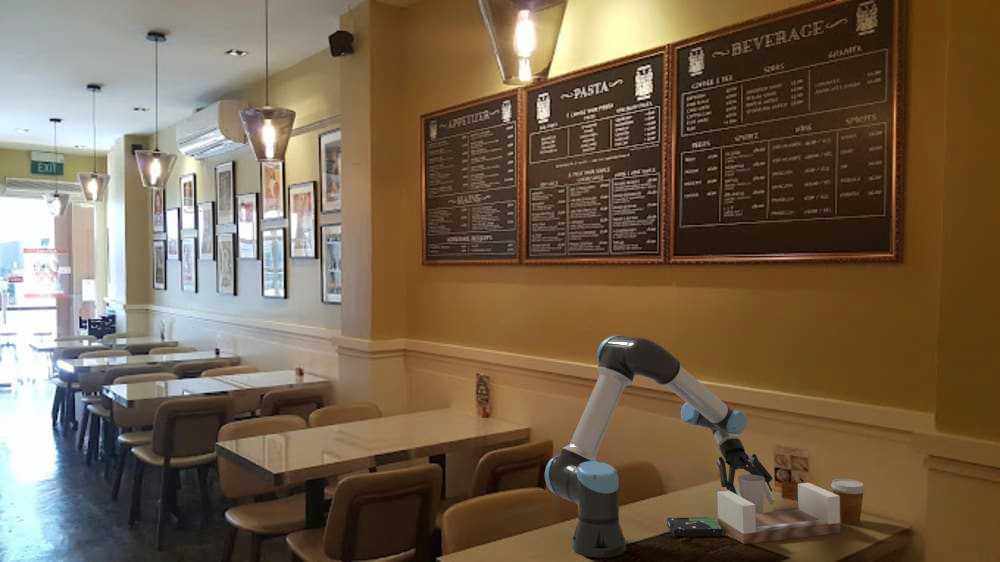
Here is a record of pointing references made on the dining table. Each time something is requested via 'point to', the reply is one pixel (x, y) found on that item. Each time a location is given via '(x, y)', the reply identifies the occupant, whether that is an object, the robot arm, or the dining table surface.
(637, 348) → the robot arm
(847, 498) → the disposable coffee cup
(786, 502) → the dining table surface
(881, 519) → the dining table surface
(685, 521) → the disk drive
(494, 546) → the dining table surface
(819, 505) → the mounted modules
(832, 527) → the board
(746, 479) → the cup
